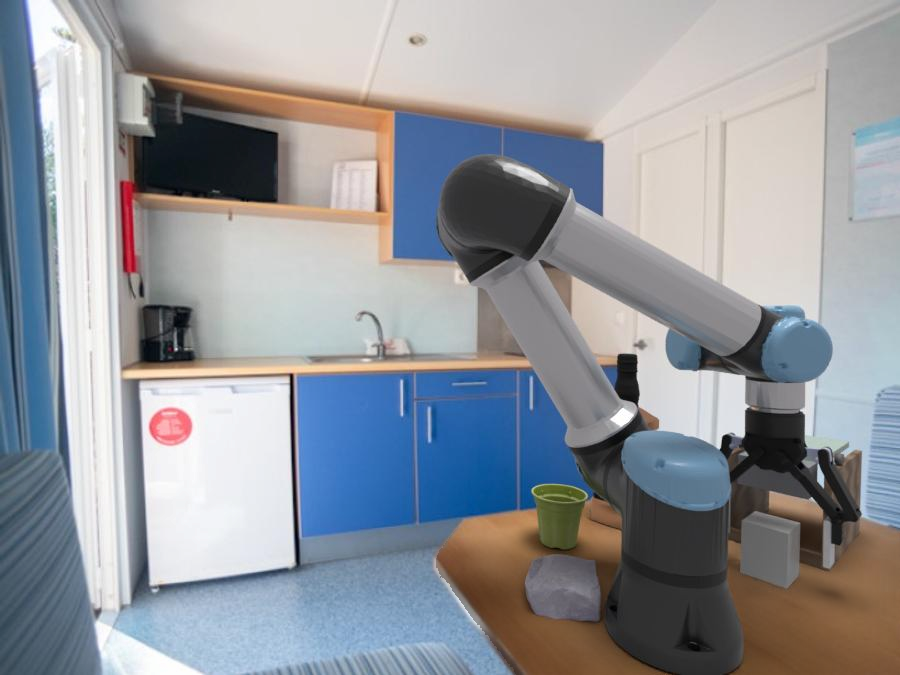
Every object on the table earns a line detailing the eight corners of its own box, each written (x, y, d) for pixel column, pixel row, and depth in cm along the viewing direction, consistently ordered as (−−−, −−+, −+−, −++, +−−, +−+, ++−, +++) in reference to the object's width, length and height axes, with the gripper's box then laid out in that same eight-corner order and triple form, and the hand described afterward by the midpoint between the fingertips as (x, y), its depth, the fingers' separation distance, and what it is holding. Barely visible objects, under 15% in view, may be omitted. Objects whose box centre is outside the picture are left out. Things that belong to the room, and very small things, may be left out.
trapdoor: (816, 501, 75) (817, 462, 75) (731, 482, 84) (732, 447, 84) (848, 474, 89) (849, 441, 89) (772, 460, 99) (773, 430, 98)
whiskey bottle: (613, 505, 101) (616, 351, 100) (661, 519, 94) (664, 354, 93) (586, 518, 94) (589, 353, 93) (636, 535, 87) (639, 356, 86)
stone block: (528, 631, 63) (608, 625, 61) (521, 593, 63) (600, 586, 61) (531, 586, 74) (598, 580, 72) (525, 554, 74) (592, 547, 72)
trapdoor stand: (829, 571, 75) (832, 461, 74) (721, 537, 86) (723, 442, 86) (859, 532, 89) (862, 440, 89) (763, 507, 101) (765, 426, 100)
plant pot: (558, 526, 90) (559, 480, 90) (598, 546, 82) (599, 495, 82) (519, 538, 85) (520, 489, 85) (558, 560, 77) (559, 506, 77)
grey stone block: (786, 589, 70) (788, 533, 69) (740, 572, 74) (741, 520, 74) (798, 575, 74) (800, 522, 73) (754, 560, 78) (755, 511, 78)
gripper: (889, 416, 66) (887, 571, 67) (698, 397, 85) (697, 517, 86) (879, 424, 61) (876, 590, 62) (679, 401, 80) (678, 529, 81)
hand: (772, 548), depth 74 cm, fingers open, 13 cm apart
